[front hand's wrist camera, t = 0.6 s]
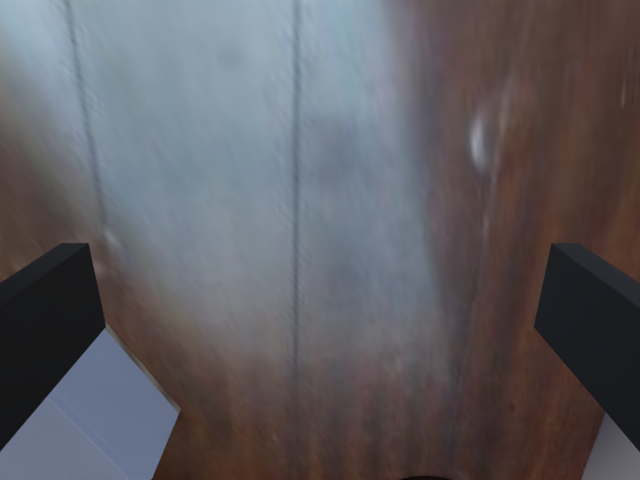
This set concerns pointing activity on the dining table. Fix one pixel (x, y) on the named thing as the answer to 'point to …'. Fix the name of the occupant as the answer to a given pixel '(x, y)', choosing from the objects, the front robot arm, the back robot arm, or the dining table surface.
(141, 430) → the cabinet
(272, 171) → the dining table surface
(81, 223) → the dining table surface
